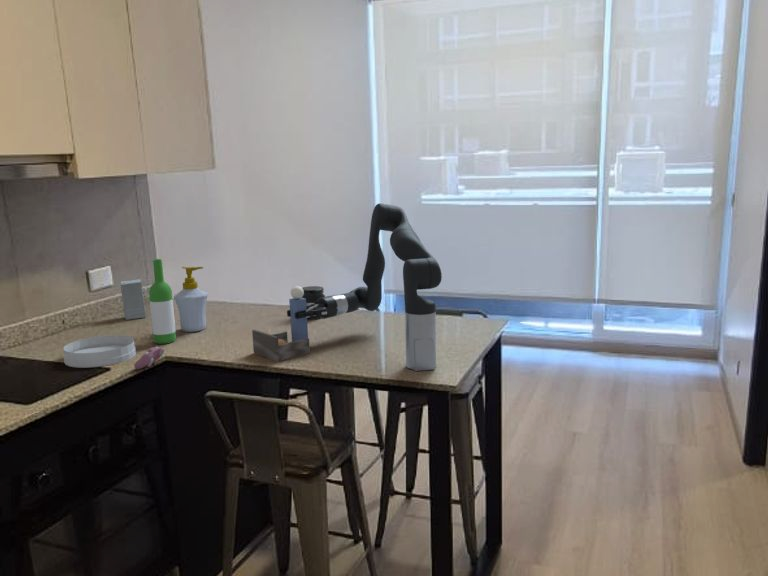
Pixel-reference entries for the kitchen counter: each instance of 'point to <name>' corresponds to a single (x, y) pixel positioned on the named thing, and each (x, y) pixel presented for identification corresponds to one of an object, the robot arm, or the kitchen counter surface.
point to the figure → (296, 305)
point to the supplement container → (312, 295)
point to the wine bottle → (161, 307)
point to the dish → (99, 351)
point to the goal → (278, 346)
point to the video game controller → (149, 358)
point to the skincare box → (133, 299)
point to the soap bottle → (191, 304)
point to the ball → (281, 341)
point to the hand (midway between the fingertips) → (291, 314)
